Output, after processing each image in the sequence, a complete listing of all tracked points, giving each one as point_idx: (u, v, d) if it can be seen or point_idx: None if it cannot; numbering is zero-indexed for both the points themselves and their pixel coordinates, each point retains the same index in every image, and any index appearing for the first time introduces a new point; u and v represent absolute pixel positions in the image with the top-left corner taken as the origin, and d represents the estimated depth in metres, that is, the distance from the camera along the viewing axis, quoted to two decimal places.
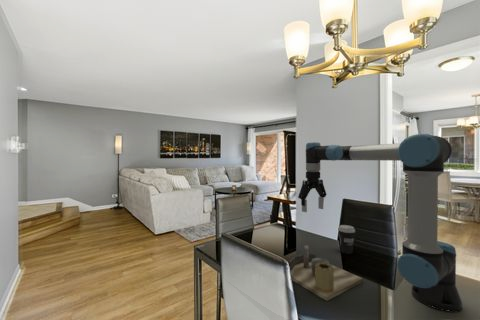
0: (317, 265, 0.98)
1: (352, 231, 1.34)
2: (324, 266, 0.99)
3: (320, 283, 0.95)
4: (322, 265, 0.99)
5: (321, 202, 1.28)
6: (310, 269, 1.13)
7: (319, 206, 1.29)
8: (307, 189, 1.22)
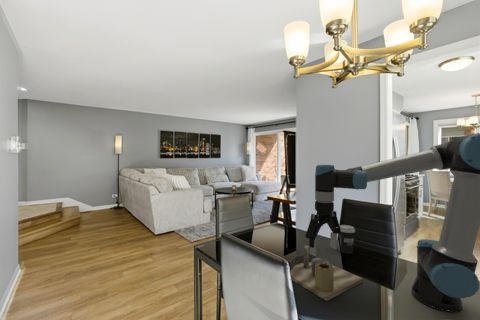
0: (317, 265, 0.98)
1: (352, 231, 1.34)
2: (324, 266, 0.99)
3: (320, 283, 0.95)
4: (322, 265, 0.99)
5: (334, 240, 1.00)
6: (310, 269, 1.13)
7: (331, 244, 1.01)
8: (317, 225, 0.94)
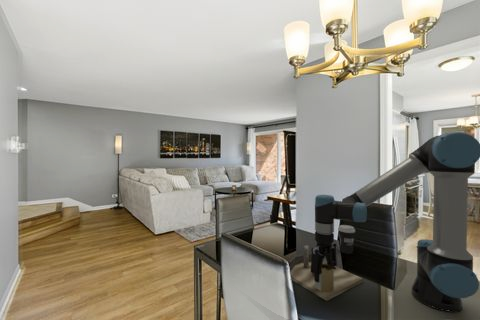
0: None
1: (352, 231, 1.34)
2: (324, 266, 0.99)
3: None
4: (322, 265, 0.99)
5: None
6: (310, 269, 1.13)
7: None
8: (319, 259, 0.95)
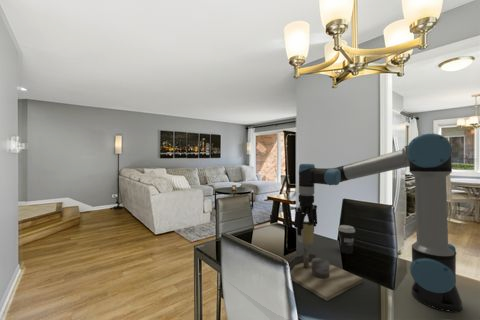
0: None
1: (352, 231, 1.34)
2: (306, 224, 1.17)
3: None
4: (304, 223, 1.17)
5: None
6: (310, 269, 1.13)
7: None
8: (301, 216, 1.13)
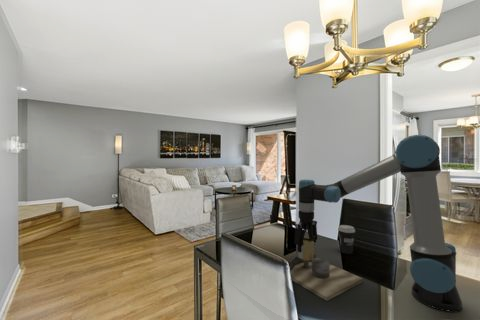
0: None
1: (352, 231, 1.34)
2: (306, 240, 1.17)
3: None
4: (304, 239, 1.17)
5: None
6: (310, 269, 1.13)
7: None
8: (301, 233, 1.13)
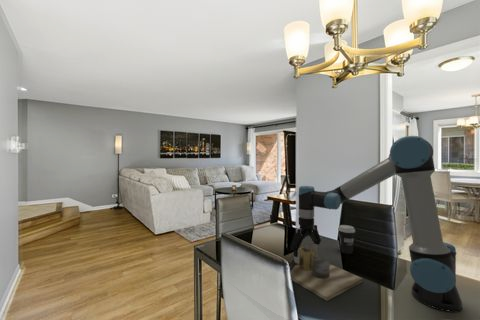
0: (300, 248, 1.16)
1: (352, 231, 1.34)
2: None
3: (302, 263, 1.13)
4: None
5: (315, 250, 1.18)
6: None
7: None
8: (300, 238, 1.13)
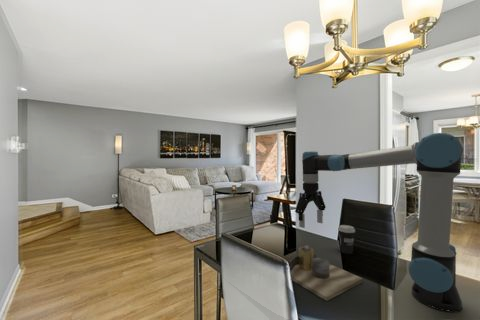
0: (300, 248, 1.16)
1: (352, 231, 1.34)
2: None
3: (302, 263, 1.13)
4: None
5: (320, 216, 1.18)
6: None
7: (318, 220, 1.19)
8: (305, 202, 1.12)
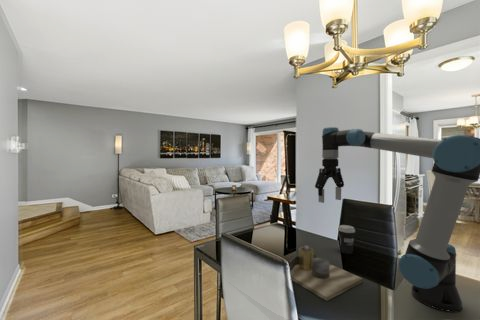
0: (300, 248, 1.16)
1: (352, 231, 1.34)
2: None
3: (302, 263, 1.13)
4: None
5: (339, 192, 1.18)
6: None
7: (336, 197, 1.19)
8: (324, 178, 1.12)
